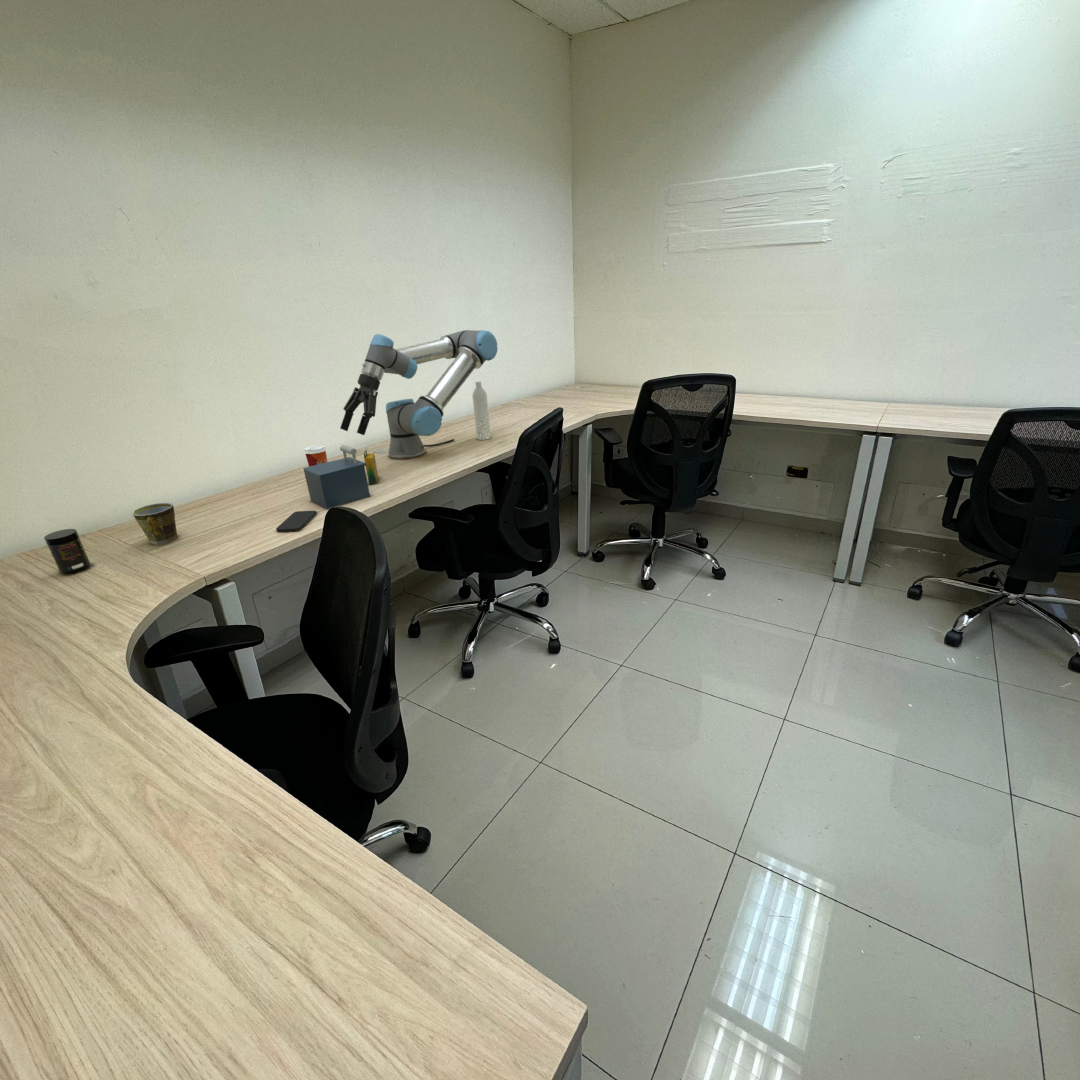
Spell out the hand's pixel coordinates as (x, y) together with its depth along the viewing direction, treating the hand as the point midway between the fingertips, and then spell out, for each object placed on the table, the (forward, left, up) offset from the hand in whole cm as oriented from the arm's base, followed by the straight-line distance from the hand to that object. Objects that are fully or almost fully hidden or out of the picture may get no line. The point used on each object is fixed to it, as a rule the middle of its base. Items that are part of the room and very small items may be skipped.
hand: (351, 432), depth 202 cm
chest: (+16, +16, -18) cm, 28 cm away
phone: (+35, +26, -18) cm, 47 cm away
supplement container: (+89, +11, -18) cm, 91 cm away
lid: (+15, +16, -7) cm, 23 cm away
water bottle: (-67, -9, -18) cm, 70 cm away
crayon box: (-1, +8, -18) cm, 20 cm away
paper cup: (+13, -5, -18) cm, 23 cm away
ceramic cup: (+68, +9, -18) cm, 71 cm away
